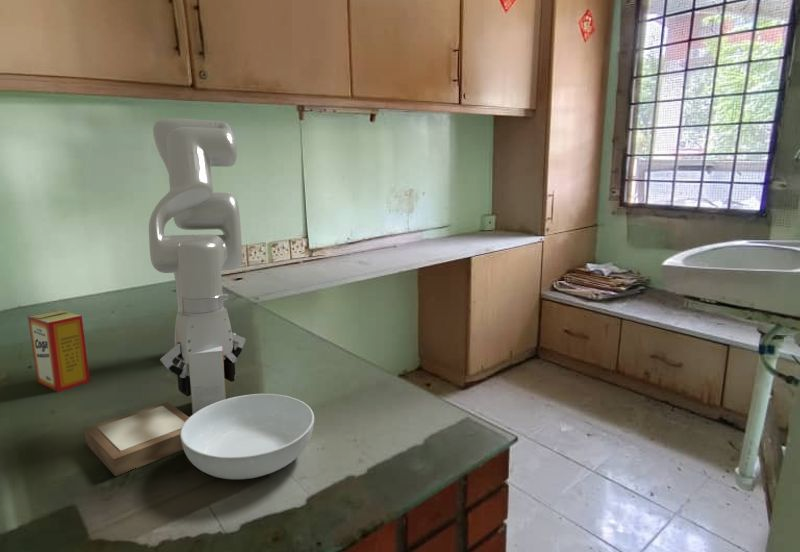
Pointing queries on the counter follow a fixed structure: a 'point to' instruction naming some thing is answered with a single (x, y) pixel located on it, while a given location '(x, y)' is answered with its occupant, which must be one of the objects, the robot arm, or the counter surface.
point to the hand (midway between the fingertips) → (208, 386)
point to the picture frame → (137, 437)
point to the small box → (206, 378)
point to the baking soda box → (59, 349)
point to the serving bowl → (247, 435)
